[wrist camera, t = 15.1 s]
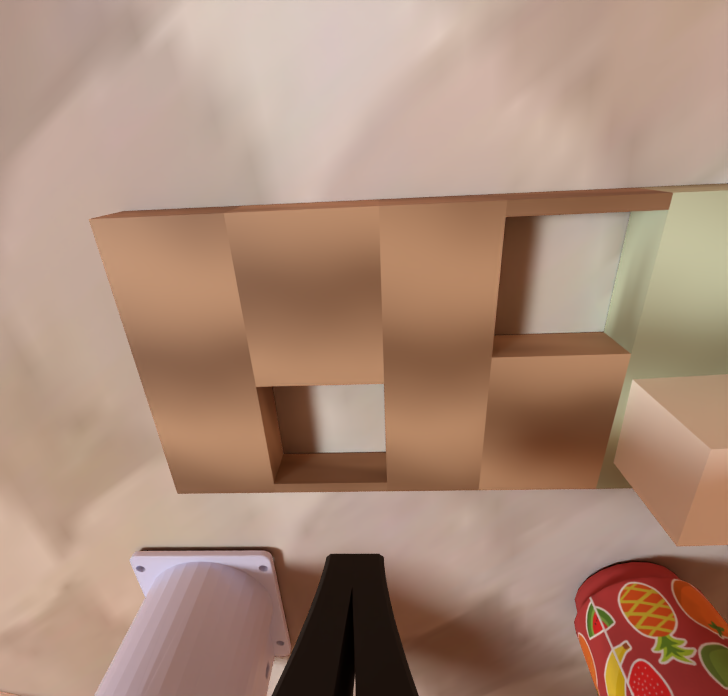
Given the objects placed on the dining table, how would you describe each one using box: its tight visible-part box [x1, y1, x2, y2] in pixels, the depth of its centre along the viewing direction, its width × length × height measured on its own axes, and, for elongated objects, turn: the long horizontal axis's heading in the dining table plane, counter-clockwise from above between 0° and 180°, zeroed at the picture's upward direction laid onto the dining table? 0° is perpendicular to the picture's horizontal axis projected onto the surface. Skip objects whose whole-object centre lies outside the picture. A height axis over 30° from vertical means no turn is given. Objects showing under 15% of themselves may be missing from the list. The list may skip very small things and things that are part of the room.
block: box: [614, 374, 728, 546], centre depth 14 cm, size 4×4×4 cm
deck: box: [89, 183, 728, 494], centre depth 15 cm, size 12×24×4 cm, turn 93°
